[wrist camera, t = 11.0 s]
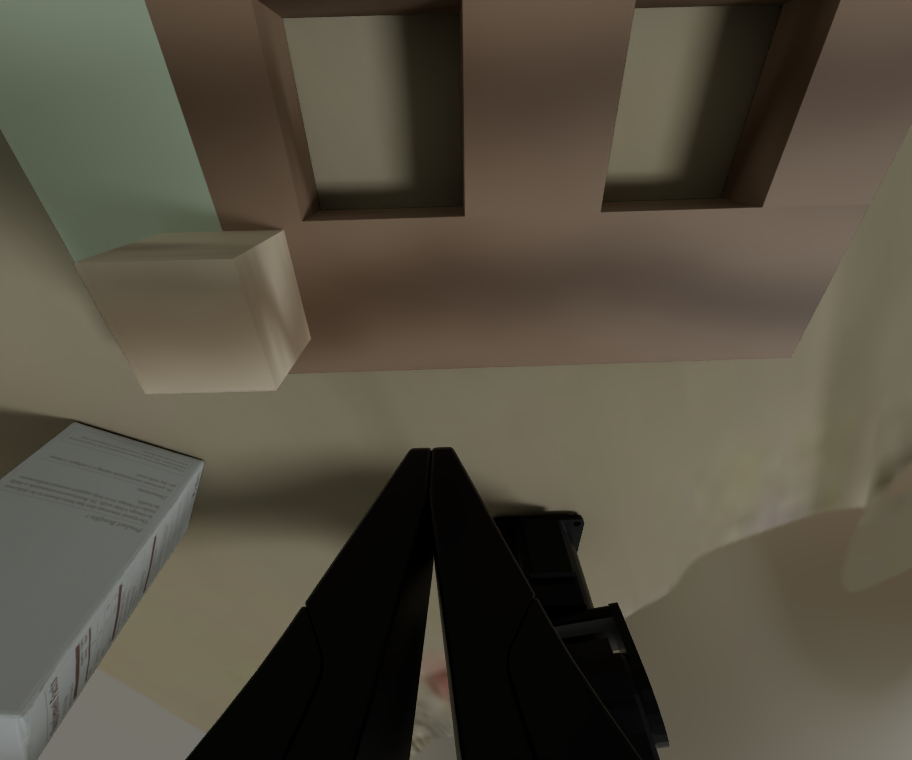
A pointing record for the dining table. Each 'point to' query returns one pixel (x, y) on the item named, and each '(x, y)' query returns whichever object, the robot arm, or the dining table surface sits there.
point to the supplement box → (78, 566)
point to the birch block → (202, 309)
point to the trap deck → (468, 175)
